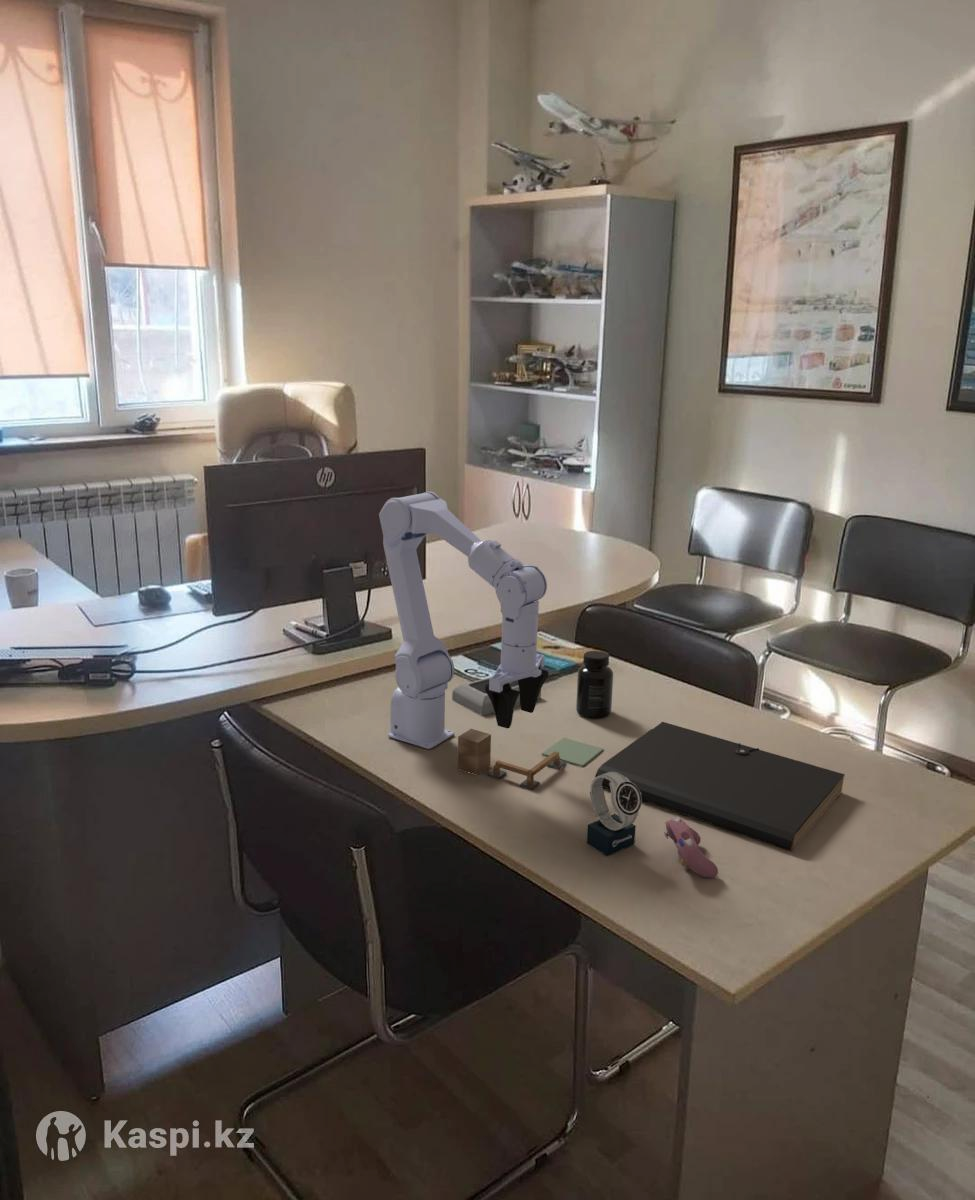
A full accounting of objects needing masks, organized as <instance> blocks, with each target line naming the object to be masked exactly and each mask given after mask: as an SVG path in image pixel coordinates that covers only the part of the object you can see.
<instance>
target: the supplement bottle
mask: <svg viewBox="0 0 975 1200" xmlns="http://www.w3.org/2000/svg"><path fill="white" fill-rule="evenodd" d="M582 662H583V663H582V664H583V665H581V666H580V667H579V668H578V670H577V680H576V681H577V682H576V703H575V707H576V708H575V709H576V713H577V714H578V715H579V716H581V717H582V718H586V719H591V720H598V719H599V720H600V719H606V718H607V717H609V716H610V715H611V714H612V706H613V705H612V704H613V689H614V687H613V686H614V672H613V669H612V668H611V667H610V666H609V665H610V655H609V654H608V653H607V652H605V651H600V650H588V651H586V652H584V653H583V660H582Z"/></svg>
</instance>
